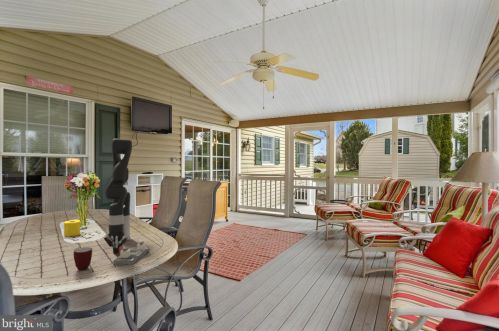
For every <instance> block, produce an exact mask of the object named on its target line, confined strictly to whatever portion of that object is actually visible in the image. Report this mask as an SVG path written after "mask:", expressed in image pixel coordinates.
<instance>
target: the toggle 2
mask: <svg viewBox="0 0 499 331" xmlns="http://www.w3.org/2000/svg"><path fill="white" fill-rule="evenodd" d="M136 247H137V250H141V251H144V250H145V249H146V248H147V243H146V242H144V241H143V240H142V241H140V242H139V243H137V244H136Z"/></svg>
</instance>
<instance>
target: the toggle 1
mask: <svg viewBox="0 0 499 331" xmlns="http://www.w3.org/2000/svg"><path fill="white" fill-rule="evenodd" d="M129 256H130V250H129V248H128V247H125V248H124V247H123V250H121V251H120V258H128V257H129Z"/></svg>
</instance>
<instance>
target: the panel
mask: <svg viewBox="0 0 499 331" xmlns="http://www.w3.org/2000/svg"><path fill="white" fill-rule="evenodd" d="M128 250H130V256H129V257H128V258H120V256H117V257H116V258H115V259H113V265H131V266H132V265H133V264H135V263H136V262H137V261H138V260H139V259H141V258H142V257H143V256H144V255H145V254H146V253H147V251H148V252H149V247H146V249H145V250H144V251H141V250H137V246H136V247H135V246H133V247H131V248H128Z"/></svg>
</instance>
